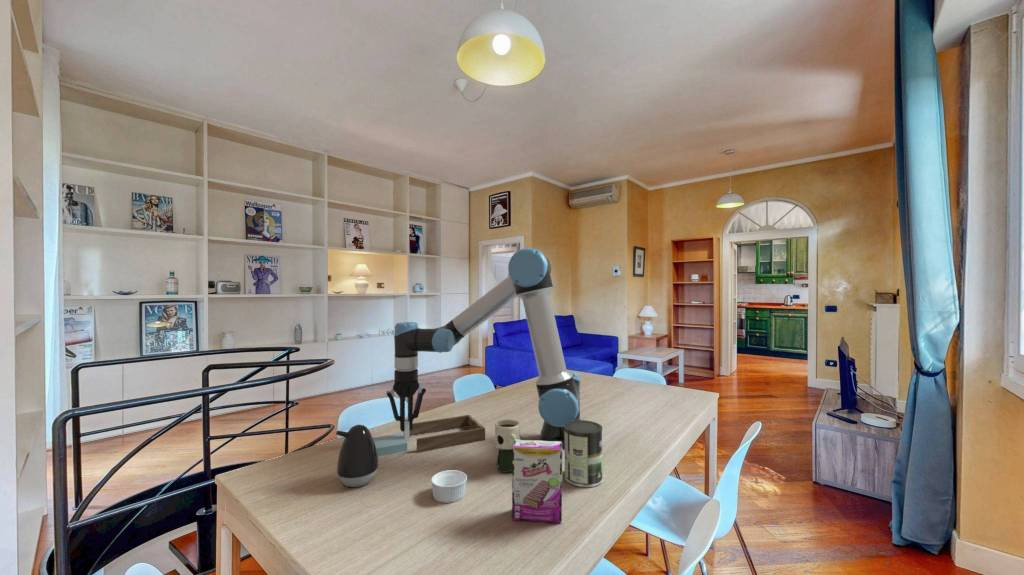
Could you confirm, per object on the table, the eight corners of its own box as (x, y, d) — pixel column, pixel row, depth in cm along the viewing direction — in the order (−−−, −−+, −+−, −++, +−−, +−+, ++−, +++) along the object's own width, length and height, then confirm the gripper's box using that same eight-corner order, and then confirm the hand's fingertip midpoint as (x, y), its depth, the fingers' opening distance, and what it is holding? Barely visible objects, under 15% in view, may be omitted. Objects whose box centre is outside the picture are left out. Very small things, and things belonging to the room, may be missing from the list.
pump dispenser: (336, 477, 106) (336, 421, 106) (376, 470, 110) (376, 416, 110) (335, 495, 97) (335, 434, 97) (379, 487, 101) (379, 428, 101)
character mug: (489, 463, 115) (489, 419, 115) (512, 459, 117) (511, 416, 117) (502, 480, 105) (502, 431, 105) (526, 475, 107) (526, 427, 107)
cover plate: (407, 452, 124) (407, 443, 124) (370, 459, 119) (370, 449, 119) (401, 441, 133) (401, 433, 133) (366, 447, 128) (367, 438, 128)
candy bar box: (511, 521, 86) (511, 447, 86) (513, 509, 91) (513, 438, 91) (562, 524, 85) (562, 448, 85) (562, 511, 90) (561, 440, 90)
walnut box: (485, 439, 133) (485, 428, 133) (417, 452, 123) (417, 439, 123) (469, 425, 147) (469, 414, 147) (407, 435, 137) (407, 424, 137)
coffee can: (598, 469, 111) (598, 419, 111) (606, 487, 100) (606, 433, 100) (561, 469, 111) (561, 419, 111) (566, 487, 100) (566, 432, 100)
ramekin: (435, 486, 102) (435, 469, 102) (469, 486, 101) (469, 469, 101) (427, 504, 93) (427, 486, 93) (464, 505, 93) (463, 487, 93)
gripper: (423, 365, 135) (423, 433, 135) (384, 368, 130) (384, 439, 129) (428, 369, 129) (428, 440, 128) (387, 372, 123) (387, 447, 123)
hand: (406, 440), depth 129 cm, fingers closed
